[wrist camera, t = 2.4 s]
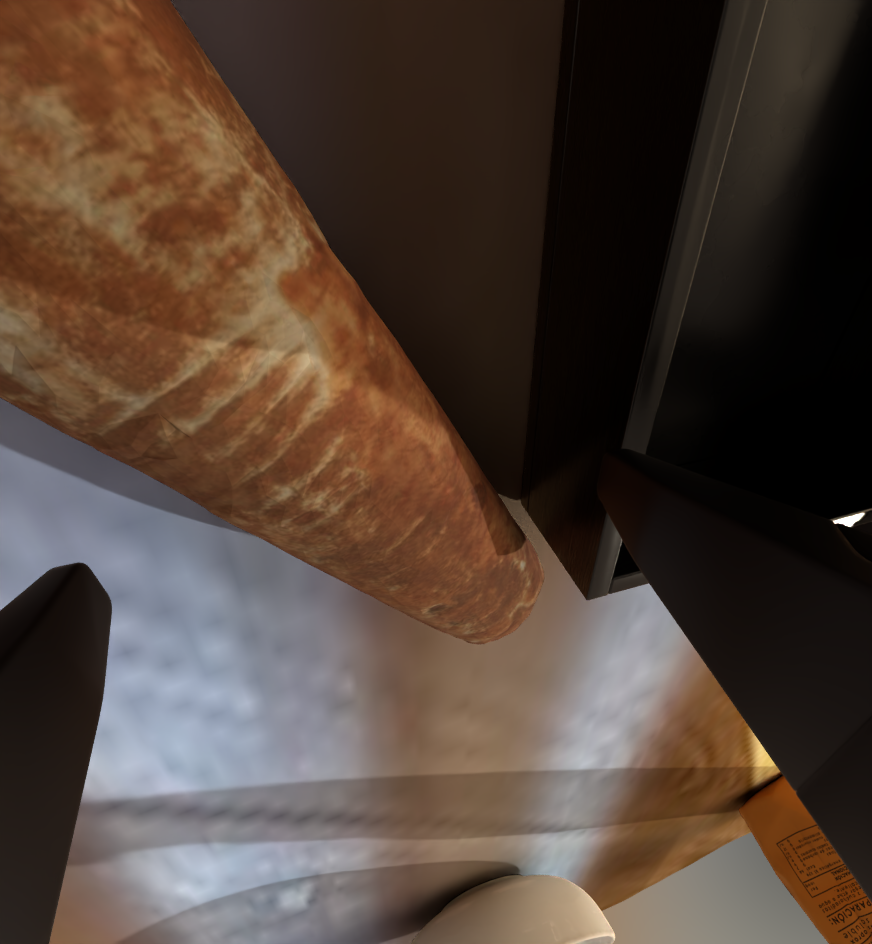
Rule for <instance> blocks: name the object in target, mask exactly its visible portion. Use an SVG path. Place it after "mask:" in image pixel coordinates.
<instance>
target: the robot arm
mask: <svg viewBox="0 0 872 944" xmlns="http://www.w3.org/2000/svg"><path fill="white" fill-rule="evenodd" d="M597 492H598V496H599V498H600V500H601V502H602V504H603V506H604V508H605V510H606V511H607V513H608V515H609V517H610V519H611V520H612V522H613V524H614V526H615V528H616V530H617V531H618V533H619V535H620V537H621V539H622V541H623V542H624V544H625V546H626V548H627V550H628V551H629V553H630V555H631V556H632V558H633V560H634V561H635V563H636V565H637V566H638V568H639V569H640V571H641V572H642V574H643V575H644V576H645V578H646V579H647V581H648V582H649V584H650V585H651V586H652V588H653V589H654V591H655V592H656V594H657V595H658V596H659V598H660V599H661V601H662V602H663V604H664V605H665V607H666V608H667V609H668V611H669V612H670V614H671V615H672V617H673V618H674V619H675V621H676V622H677V624H678V625H679V627H680V628H681V630H682V631H683V632H684V634H685V635H686V637H687V638H688V640H689V641H690V642H691V644H692V645H693V647H694V648H695V650H696V651H697V652H698V654H699V655H700V657H701V658H702V660H703V661H704V663H705V664H706V665H707V667H708V668H709V670H710V671H711V673H712V674H713V675H714V677H715V678H716V680H717V681H718V683H719V684H720V686H721V687H722V688H723V690H724V691H725V693H726V694H727V696H728V697H729V698H730V700H731V701H732V703H733V704H734V706H735V707H736V708H737V710H738V711H739V713H740V714H741V716H742V717H743V719H744V720H745V721H746V723H747V724H748V726H749V727H750V729H751V730H752V731H753V733H754V734H755V736H756V737H757V739H758V740H759V741H760V743H761V744H762V746H763V747H764V749H765V750H766V752H767V753H768V754H769V756H770V757H771V759H772V760H773V762H774V763H775V764H776V766H777V767H778V769H779V770H780V772H781V773H782V775H783V776H784V777H785V779H786V780H787V782H788V783H789V785H790V786H791V787H792V789H793V790H794V791H796V795H797V797H798V798H799V799H800V801H801V802H802V804H803V805H804V807H805V808H806V810H807V811H808V812H809V814H810V815H811V817H812V818H813V820H814V821H815V822H816V824H817V825H818V827H819V828H820V830H821V831H822V832H823V834H824V835H825V837H826V838H827V840H828V841H829V843H830V844H831V845H832V847H833V848H834V850H835V851H836V853H837V854H838V855H839V857H840V858H841V860H842V861H843V863H844V864H845V865H846V867H847V868H848V870H849V871H850V873H851V874H852V875H853V877H854V878H855V880H856V881H857V883H858V884H859V886H860V887H861V888H862V890H863V891H864V893H865V894H866V896H867V897H868V898H869V900H870V901H871V903H872V522H868V523H865V524H861V525H858V526H854V527H849V526H847V525H844V524H841V523H834V522H833V521H832V520H829V519H826V518H824V517H821V516H818V515H815V514H812V513H809V512H807V511H804V510H801V509H798V508H795V507H792V506H789V505H787V504H784V503H781V502H778V501H775V500H772V499H770V498H767V497H764V496H761V495H758V494H755V493H752V492H750V491H747V490H744V489H741V488H738V487H735V486H733V485H730V484H727V483H724V482H721V481H718V480H715V479H713V478H710V477H707V476H704V475H701V474H698V473H696V472H693V471H690V470H687V469H684V468H681V467H679V466H676V465H673V464H670V463H667V462H664V461H661V460H659V459H656V458H653V457H650V456H647V455H644V454H642V453H639V452H636V451H633V450H630V449H619V450H614V451H609V452H607V453H606V454H605V455H604V456H603V459H602V464H601V469H600V474H599V479H598V483H597ZM111 615H112V604H111V600H110V597H109V595H108V594H107V592H106V591H105V589H104V588H103V586H102V585H101V583H100V582H99V581H98V579H97V578H96V576H95V575H94V573H93V572H92V570H91V569H90V568H89V567H88V566H87V565H86V564H84V563H73V564H68V565H64V566H59V567H55V568H52V569H50V570H49V571H47V572H46V573H45V574H44V575H42V576H41V577H40V578H39V579H38V580H37V581H35V582H34V583H33V584H32V585H31V586H29V587H28V588H27V589H26V590H25V591H23V592H22V593H21V594H20V595H19V596H17V597H16V598H15V599H14V600H13V601H11V602H10V603H9V604H8V605H7V606H5V607H4V608H3V609H2V610H1V611H0V944H49V941H50V936H51V932H52V927H53V923H54V918H55V914H56V909H57V905H58V901H59V896H60V892H61V887H62V883H63V878H64V874H65V869H66V865H67V860H68V856H69V851H70V847H71V842H72V838H73V833H74V829H75V824H76V820H77V815H78V811H79V806H80V802H81V797H82V793H83V788H84V784H85V780H86V775H87V771H88V766H89V762H90V757H91V753H92V748H93V744H94V739H95V735H96V730H97V726H98V721H99V717H100V712H101V706H102V701H103V694H104V686H105V676H106V666H107V656H108V646H109V635H110V625H111Z"/></svg>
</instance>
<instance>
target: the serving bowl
mask: <svg viewBox="0 0 872 944" xmlns="http://www.w3.org/2000/svg"><path fill="white" fill-rule="evenodd" d="M614 940H615V934H614V932H613V930H612V928H611V926H610V925H609V923H608V921H607V920H606V918H605V916H604V915H603V913H602V911H601V910H600V909H599V907H598V906H597V904H596V903H595V902H594V901H593V899H592V898H591V897H590V896H589V895H588V894H587V893H586V892H585V891H584V890H582V889H581V888H580V887H578V886H577V885H575V884H574V883H572V882H570V881H568V880H566V879H564V878H561V877H557V876H551V875H530V876H521V875H510V876H504V877H500V878H497V879H494V880H491V881H488V882H485V883H483V884H480V885H478V886H476V887H474V888H472V889H469V890H468V891H466V892H464V893H462V894H461V895H459V896H458V897H456V898H455V899H453V900H452V901H451V902H449V903H448V904H447V905H446V906H445V907H444V908H443V910H442V912H440V913H439V914H438V915H437V916H435V917H434V918H433V919H432V920H431V921H430V922H429V923H428V924H427V925H426V926H425V927H424V928H423V929H422V930H421V931H420V932H419V933H418V934H417V936H416V937H415V938H414V940H413V941H412V943H411V944H612V943H613V942H614Z"/></svg>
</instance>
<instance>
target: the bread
mask: <svg viewBox="0 0 872 944" xmlns="http://www.w3.org/2000/svg"><path fill="white" fill-rule="evenodd" d="M0 398H2V399H4V400H6V401H7V402H9V403H11V404H13V405H14V406H16V407H18V408H20V409H21V410H23V411H25V412H27V413H29V414H30V415H32V416H34V417H36V418H38V419H39V420H41V421H43V422H45V423H47V424H48V425H50V426H52V427H54V428H56V429H57V430H59V431H61V432H63V433H65V434H67V435H69V436H71V437H73V438H75V439H77V440H79V441H81V442H83V443H85V444H88V445H90V446H92V447H93V448H95V449H96V450H98V451H100V452H102V453H104V454H106V455H108V456H110V457H112V458H114V459H116V460H119V461H121V462H123V463H125V464H127V465H129V466H131V467H133V468H135V469H137V470H139V471H141V472H143V473H144V474H146V475H148V476H150V477H152V478H154V479H156V480H157V481H159V482H161V483H163V484H165V485H167V486H169V487H170V488H172V489H174V490H176V491H177V492H179V493H181V494H183V495H184V496H186V497H188V498H189V499H191V500H193V501H194V502H196V503H198V504H199V505H201V506H203V507H204V508H206V509H207V510H208V511H209V512H211V513H213V514H214V515H216V516H218V517H220V518H222V519H223V520H225V521H227V522H229V523H230V524H232V525H234V526H236V527H239V528H241V529H243V530H245V531H247V532H249V533H251V534H253V535H255V536H257V537H259V538H261V539H263V540H265V541H267V542H269V543H270V544H272V545H274V546H276V547H278V548H280V549H281V550H283V551H285V552H287V553H289V554H290V555H292V556H294V557H296V558H298V559H300V560H302V561H304V562H306V563H308V564H309V565H311V566H313V567H315V568H317V569H319V570H321V571H323V572H325V573H327V574H329V575H331V576H333V577H335V578H337V579H339V580H341V581H343V582H345V583H347V584H349V585H351V586H352V587H354V588H356V589H358V590H360V591H362V592H364V593H366V594H368V595H370V596H373V597H374V598H376V599H378V600H379V601H381V602H383V603H385V604H387V605H388V606H390V607H393V608H395V609H397V610H399V611H401V612H403V613H405V614H406V615H408V616H410V617H412V618H414V619H416V620H418V621H420V622H422V623H425V624H427V625H429V626H431V627H433V628H435V629H437V630H439V631H442V632H444V633H447V634H450V635H452V636H454V637H456V638H460V639H463V640H464V641H466V642H468V643H473V644H485V643H488V642H490V641H494V640H498V639H500V638H502V637H504V636H506V635H508V634H510V633H512V632H513V631H515V630H516V629H517V628H518V627H519V626H520V625H521V623H522V622H523V621H524V620H525V619H526V618H527V617H528V616H529V615H530V613H531V610H532V608H533V606H534V604H535V601H536V599H537V597H538V594H539V592H540V589H541V587H542V584H543V582H544V571H543V568H542V565H541V563H540V561H539V558H538V555H537V553H536V551H535V550H534V548H533V546H532V544H531V543H530V541H529V540H528V539H527V537H526V536H525V534H524V533H523V531H522V530H521V528H520V527H519V526H518V524H517V523H516V522H515V520H514V519H513V517H512V516H511V514H510V513H509V511H508V509H507V508H506V506H505V505H504V503H503V502H502V500H501V498H500V497H499V495H498V494H497V492H496V491H495V489H494V488H493V486H492V485H491V483H490V482H489V481H488V479H487V478H486V476H485V475H484V473H483V472H482V470H481V468H480V467H479V465H478V464H477V462H476V460H475V459H474V457H473V456H472V454H471V452H470V451H469V449H468V448H467V446H466V445H465V443H464V441H463V440H462V438H461V437H460V435H459V434H458V432H457V431H456V429H455V428H454V426H453V424H452V423H451V421H450V420H449V418H448V417H447V415H446V414H445V412H444V411H443V409H442V408H441V406H440V405H439V403H438V402H437V400H436V399H435V397H434V396H433V394H432V393H431V391H430V390H429V388H428V387H427V386H426V384H425V383H424V381H423V380H422V378H421V377H420V375H419V374H418V372H417V371H416V369H415V368H414V366H413V365H412V363H411V362H410V360H409V359H408V357H407V356H406V354H405V353H404V351H403V350H402V348H401V346H400V345H399V343H398V342H397V340H396V339H395V338H394V336H393V335H392V334H391V332H390V331H389V329H388V328H387V327H386V325H385V324H384V323H383V321H382V320H381V319H380V317H379V316H378V315H377V313H376V312H375V310H374V309H373V308H372V306H371V305H370V303H369V302H368V301H367V299H366V298H365V296H364V295H363V293H362V291H361V289H360V288H359V286H358V284H357V283H356V281H355V280H354V278H353V277H352V276H351V275H350V274H349V273H348V271H347V270H346V269H345V268H344V266H343V265H342V264H341V262H340V261H339V260H338V258H337V257H336V256H335V255H334V253H333V252H332V250H331V249H330V247H329V245H328V243H327V241H326V239H325V237H324V235H323V234H322V232H321V230H320V228H319V227H318V225H317V223H316V221H315V220H314V218H313V216H312V214H311V213H310V211H309V209H308V208H307V206H306V205H305V203H304V201H303V200H302V198H301V196H300V195H299V193H298V191H297V190H296V188H295V186H294V185H293V184H292V182H291V181H290V179H289V178H288V177H287V175H286V174H285V172H284V171H283V170H282V168H281V167H280V165H279V164H278V162H277V161H276V159H275V158H274V156H273V155H272V153H271V152H270V150H269V149H268V147H267V146H266V144H265V143H264V141H263V140H262V138H261V137H260V135H259V134H258V132H257V131H256V129H255V128H254V126H253V125H252V123H251V122H250V120H249V119H248V117H247V116H246V114H245V113H244V111H243V110H242V108H241V107H240V106H239V104H238V103H237V101H236V100H235V98H234V97H233V95H232V94H231V92H230V91H229V89H228V88H227V86H226V85H225V83H224V82H223V80H222V79H221V77H220V76H219V74H218V73H217V71H216V70H215V68H214V67H213V65H212V64H211V62H210V61H209V59H208V57H207V56H206V54H205V53H204V51H203V50H202V48H201V47H200V45H199V44H198V42H197V41H196V39H195V38H194V36H193V35H192V33H191V32H190V30H189V29H188V27H187V26H186V24H185V22H184V21H183V19H182V18H181V16H180V15H179V13H178V12H177V10H176V9H175V7H174V6H173V4H172V3H171V1H170V0H0Z"/></svg>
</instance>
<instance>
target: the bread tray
mask: <svg viewBox="0 0 872 944" xmlns="http://www.w3.org/2000/svg"><path fill="white" fill-rule="evenodd" d="M619 449H630V450H633V451H636V452H639V453H642V454H644V455H647V456H650V457H653V458H656V459H659V460H661V461H664V462H667V463H670V464H673V465H676V466H679V467H681V468H684V469H687V470H690V471H693V472H696V473H698V474H701V475H704V476H707V477H710V478H713V479H715V480H718V481H721V482H724V483H727V484H730V485H733V486H735V487H738V488H741V489H744V490H747V491H750V492H752V493H755V494H758V495H761V496H764V497H767V498H770V499H772V500H775V501H778V502H781V503H784V504H787V505H789V506H792V507H795V508H798V509H801V510H804V511H807V512H809V513H812V514H815V515H818V516H821V517H824V518H826V519H829V520H832V521H833V522H834V523H841V524H844V525H847V526H849V527H854V526H858V525H861V524H865V523H868V522H872V0H565V9H564V20H563V31H562V43H561V54H560V66H559V77H558V88H557V100H556V111H555V123H554V134H553V145H552V157H551V168H550V179H549V191H548V202H547V214H546V225H545V236H544V248H543V259H542V271H541V282H540V293H539V305H538V316H537V328H536V339H535V350H534V362H533V373H532V384H531V396H530V407H529V419H528V430H527V441H526V453H525V464H524V476H523V487H522V498H521V504H522V505H523V507H524V508H525V510H526V511H527V513H528V514H529V516H530V517H531V519H532V520H533V522H534V523H535V525H536V526H537V528H538V529H539V531H540V532H541V534H542V535H543V537H544V538H545V539H546V541H547V542H548V544H549V545H550V547H551V548H552V550H553V551H554V553H555V554H556V556H557V557H558V559H559V560H560V562H561V563H562V565H563V566H564V568H565V569H566V570H567V572H568V573H569V575H570V576H571V578H572V579H573V581H574V582H575V584H576V585H577V587H578V588H579V590H580V591H581V593H582V594H583V596H584V597H585V598H586V600H591V599H595V598H598V597H602V596H606V595H607V594H608V593H609V594H612V593H615V592H619V591H622V590H626V589H630V588H633V587H637V586H641V585H644V584H648V583H649V582H648V581H647V579H646V578H645V576H644V575H643V574H642V572H641V571H640V569H639V568H638V566H637V565H636V563H635V561H634V560H633V558H632V556H631V555H630V553H629V551H628V550H627V548H626V546H625V544H624V542H623V541H622V539H621V537H620V535H619V533H618V531H617V530H616V528H615V526H614V524H613V522H612V520H611V519H610V517H609V515H608V513H607V511H606V510H605V508H604V506H603V504H602V502H601V500H600V498H599V496H598V492H597V483H598V479H599V474H600V469H601V464H602V459H603V456H604V455H605V454H606V453H607V452H609V451H614V450H619Z"/></svg>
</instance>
